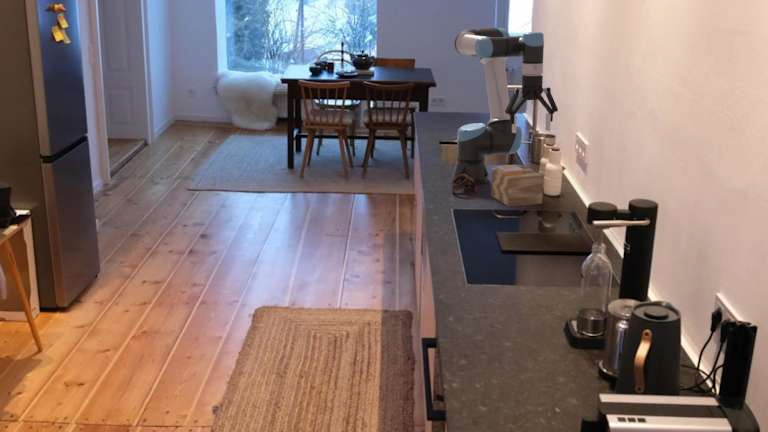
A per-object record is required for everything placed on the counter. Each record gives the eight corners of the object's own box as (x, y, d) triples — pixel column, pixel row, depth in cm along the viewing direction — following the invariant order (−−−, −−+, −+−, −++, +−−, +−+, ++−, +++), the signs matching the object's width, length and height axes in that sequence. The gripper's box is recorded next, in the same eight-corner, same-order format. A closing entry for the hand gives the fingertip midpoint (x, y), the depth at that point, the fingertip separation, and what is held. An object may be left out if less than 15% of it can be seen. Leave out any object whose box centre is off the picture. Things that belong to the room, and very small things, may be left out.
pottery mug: (479, 196, 338) (470, 180, 335) (457, 205, 341) (448, 189, 338) (478, 181, 348) (469, 165, 345) (457, 190, 351) (448, 174, 348)
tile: (497, 171, 330) (498, 166, 330) (514, 169, 332) (514, 164, 332) (505, 175, 324) (505, 170, 323) (522, 174, 326) (522, 168, 325)
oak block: (491, 195, 338) (491, 168, 334) (523, 192, 342) (524, 165, 338) (508, 206, 323) (509, 178, 320) (542, 203, 327) (543, 175, 324)
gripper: (504, 77, 311) (503, 135, 317) (568, 74, 317) (565, 131, 322) (497, 75, 318) (496, 131, 324) (559, 72, 324) (557, 128, 329)
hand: (531, 131), depth 323 cm, fingers open, 13 cm apart
